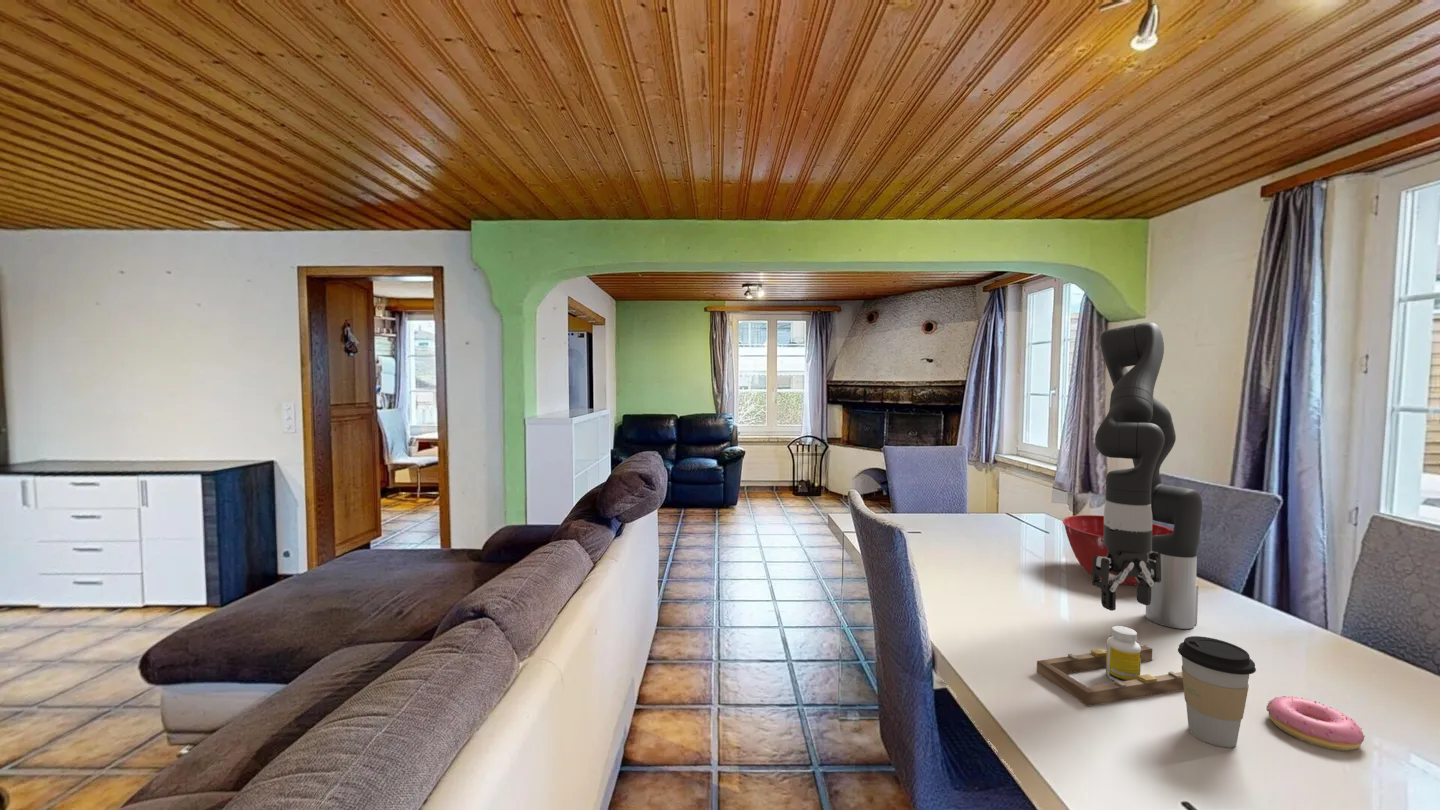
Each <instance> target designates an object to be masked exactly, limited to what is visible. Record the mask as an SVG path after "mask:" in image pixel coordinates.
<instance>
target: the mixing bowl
mask: <svg viewBox="0 0 1440 810" xmlns="http://www.w3.org/2000/svg"><path fill="white" fill-rule="evenodd" d="M1062 524H1063V525H1064V529H1065V532H1066V536H1067V539H1068V540H1067V541H1068V543H1069V545H1070V547H1071V549H1072V552H1073V554H1074V556H1075V558H1076V560H1077V562H1078V563H1079V565H1080V566H1081V567H1082V568H1083V569H1084V570H1085V571H1087V572H1088V573H1089V574H1091V575H1092V568H1093V557H1094V556H1095V555H1097V556H1100V557H1106V556H1107V554H1108V549H1107V547H1106V546H1105V545H1104V515H1095V514H1081V515H1070V516H1066V517H1065V518H1063V520H1062ZM1173 530H1174V529H1171V528H1168V527H1166V526H1163V525H1159V524H1156V523H1153V522H1152V536H1155V535H1167V534H1171V533H1173ZM1111 574H1112V575H1115V576H1117V575H1116V574H1114V573H1113V571H1112V572H1111ZM1099 580H1101V576H1099ZM1111 582H1112V580H1109V582H1108V583H1111ZM1137 583H1139V582H1138V581H1137V580H1136V578H1135V577H1129V578H1125V580H1124V581H1123V583H1120V584H1119V585H1125V586H1137Z"/></svg>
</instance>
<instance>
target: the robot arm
mask: <svg viewBox="0 0 1440 810" xmlns="http://www.w3.org/2000/svg"><path fill="white" fill-rule="evenodd" d="M1099 339H1100V341H1099V342H1100V350H1101V353H1102V358H1103V359H1104V360H1103V361H1104V363H1105V366H1106V368H1107V372H1108V376H1109V377H1110V380H1111V383H1112V386H1113V388H1112V391H1111V392H1110V399H1109V400H1110V402H1109V409H1108V412H1107V414H1106V416H1105V417H1104V419H1103V420H1102V422H1101V423H1100V425H1099V427H1098V429H1097V431H1096V433H1095V437H1094V445H1095V447H1096V449H1097V452H1098V453H1100V454H1101V455H1102V456H1104V457H1106V458H1111V459H1112V458H1114V459H1127V460H1128V459H1129V460H1132V463H1133V467H1131V468H1124V469H1116V470H1112V471H1109V472H1107V474H1106V476H1105V477H1106V478H1105V503H1104V504H1105V505H1104V511H1103V516H1104V545H1105V546H1106V547H1107V549H1108V554H1107V556H1106V557H1100V556H1097V555H1095V556H1094V557H1093V568H1092V574H1091V585H1092V586H1094V587H1097V588H1099V589H1100V590H1101V593H1100V597H1101V598H1100V600H1101V602H1100V604H1101V606H1102V607H1103V609H1106V610H1109V611H1115V610H1116V607H1117V602H1116V601H1117V592H1116V590H1117V588H1118V586H1119V585H1121V584H1120V583H1123V581H1124V580H1125V578H1129V577H1135V578H1136V580H1137V581H1138V582H1139V583H1137V585H1136V602H1137V603H1139V604H1141V605H1144V606H1145V617H1146V618H1147V620H1150V621H1152V622H1153V623H1156V624H1158V625H1161V626H1164V627H1168V628H1174V629H1181V630H1182V629H1183V630H1189V629H1191V630H1192V629H1194V628H1195V625H1197V624H1198V609H1199V608H1198V606H1199V605H1198V604H1199V603H1198V602H1199V585H1197V566H1198V565H1197V562H1198V560H1197V559H1198V558H1197V557H1198V556H1197V555H1198V547H1199V543H1200V539H1201V538H1200V536H1201V524H1202V523H1201V522H1202V517H1203V516H1202V515H1203V500H1202V497H1201V495H1200V493H1199V492H1198V491H1197V490H1195V489H1193V488H1188V487H1181V486H1175V485H1169V484H1168V485H1167V484H1163V482H1162V480H1161V474H1160V469H1161V466H1162V464H1163V462H1164V461H1165V460H1166V458H1167V457H1168V455H1169V454H1170V452H1171V451H1172V449H1173V448H1174V445H1175V443H1176V439H1177V436H1176V431H1175V426H1174V421H1173V418H1172V414H1171V412H1170V410H1169V409H1168V407H1166V406H1165V404H1164V403H1162V402H1161V401H1160V400H1158V399H1157V398H1156V397H1155V396H1154V391H1155V390H1154V389H1155V387H1156V382H1157V379H1158V376H1159V373H1160V369H1161V367H1162V362H1163V359H1164V355H1165V354H1164V353H1165V343H1164V337H1163V334H1162V331H1161V328H1160V327H1159V326H1158V325H1157V324H1156V323H1154V322H1141V323H1136V324H1131V325H1126V326H1120V327H1116V328H1110V329H1107V330H1104V331H1103V332H1102V333H1101V334H1100V338H1099ZM1127 367H1132V368H1130V369H1127ZM1153 521H1154V522H1159V523H1165V524H1168V525H1173V529H1172V530H1173V533H1171V534H1167V535H1155V536H1152V523H1153ZM1112 571H1113V573H1114V574H1116V575H1117V576H1115V575H1112V574H1111V572H1112ZM1099 576H1101V579H1099ZM1109 580H1112V582H1109ZM1109 583H1110V584H1109Z"/></svg>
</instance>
